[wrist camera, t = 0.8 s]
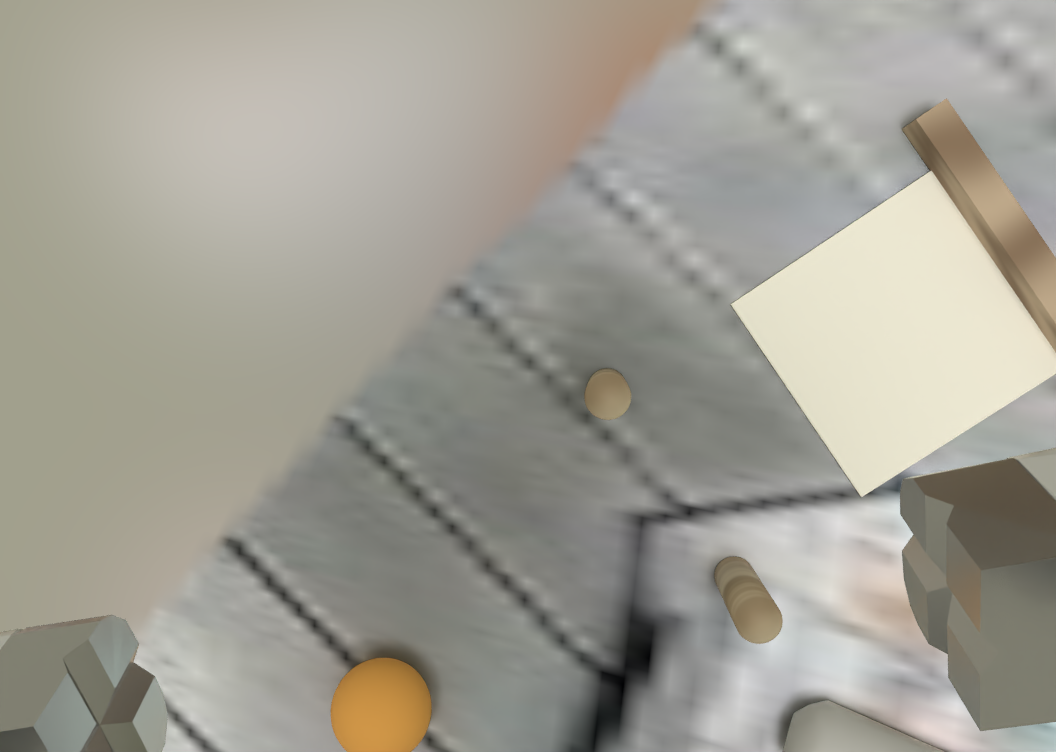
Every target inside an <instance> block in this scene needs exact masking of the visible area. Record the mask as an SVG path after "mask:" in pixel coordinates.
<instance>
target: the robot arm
mask: <svg viewBox="0 0 1056 752" xmlns="http://www.w3.org/2000/svg"><path fill="white" fill-rule="evenodd" d="M900 514H901V516H902V517H903V519H904V520H905V522H906V523H907V525H908V527H909V528H910V530H911V531H912V533H913V534H914V535H913V536H912V538H911V539H910V540H909V542H908V543H907V545H906V546H905V547H904V549H903V550H902V559H903V573H904V581H905V585H906V590H907V594H908V598H909V602H910V606H911V609H912V611H913V614H914V616H915V618H916V621H917V623H918V626H919V627H920V629H921V631H922V633H923V635H924V636H925V638H926V640H927V642H928V643H929V644H930V645H932V646H933V647H935V648H937V649H939V650H941V651H943V652H945V653H947V654H948V678H949V679H950V681H951V683H952V684H953V686H954V688H955V690H956V691H957V693H958V695H959V696H960V698H961V700H962V701H963V703H964V705H965V706H966V708H967V710H968V711H969V713H970V715H971V716H972V718H973V720H974V721H975V723H976V725H977V726H978V728H979V730H980V731H985V730H993V729H1001V728H1009V727H1017V726H1025V725H1034V724H1042V723H1050V722H1056V448H1053V449H1048V450H1043V451H1038V452H1034V453H1029V454H1024V455H1019V456H1014V457H1009V458H1007V459H1005V460H1000V461H994V462H989V463H984V464H978V465H973V466H968V467H963V468H957V469H952V470H947V471H941V472H936V473H931V474H925V475H920V476H915V477H909V478H904V479H903V481H902V485H901V490H900ZM138 646H139V643H138V641H137V640H136V638H135V636H134V634H133V632H132V630H131V629H130V627H129V625H128V623H127V621H126V620H124V619H121V618H119V617H116V616H114V615H107V616H101V617H94V618H88V619H81V620H74V621H68V622H61V623H55V624H48V625H41V626H34V627H28V628H25V629H15V630H9V631H4V632H0V752H162V750H163V748H164V745H165V740H166V729H167V718H168V714H167V710H166V705H165V700H164V695H163V692H162V690H161V688H160V686H159V684H158V682H157V680H156V678H155V676H154V675H152V674H151V673H149V672H148V671H146V670H144V669H143V668H141V667H140V666H138V665H137V664H135V663H133V661H134V658H135V655H136V652H137V649H138Z"/></svg>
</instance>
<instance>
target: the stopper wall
mask: <svg viewBox="0 0 1056 752" xmlns="http://www.w3.org/2000/svg"><path fill="white" fill-rule="evenodd" d="M902 130H903V132H904V133H905V135H906V136H907V138H908V139H909V141H910V142H911V144H912V145H913V146H914V148H915V149H916V151H917V152H918V154H919V155H920V157H921V158H922V160H923V161H924V163H925V164H926V165H927V167H928V168H929V170H930V171H931V170H932V172H933V173H934V175H935V176H936V178H937V179H938V181H939V182H940V184H941V185H942V187H943V188H944V189H945V191H946V192H947V194H948V195H949V197H950V198H951V200H952V201H953V203H954V204H955V206H956V207H957V208H958V210H959V211H960V213H961V214H962V216H963V217H964V219H965V220H966V222H967V223H968V225H969V226H970V228H971V229H972V230H973V232H974V233H975V235H976V236H977V238H978V239H979V241H980V242H981V244H982V245H983V247H984V248H985V249H986V251H987V252H988V254H989V255H990V257H991V258H992V260H993V261H994V263H995V264H996V266H997V267H998V269H999V270H1000V271H1001V273H1002V274H1003V276H1004V277H1005V279H1006V280H1007V282H1008V283H1009V285H1010V286H1011V288H1012V289H1013V291H1014V292H1015V293H1016V295H1017V296H1018V298H1019V299H1020V301H1021V302H1022V304H1023V305H1024V307H1025V308H1026V310H1027V311H1028V312H1029V314H1030V315H1031V317H1032V318H1033V320H1034V321H1035V323H1036V324H1037V326H1038V327H1039V329H1040V330H1041V332H1042V333H1043V334H1044V336H1045V337H1046V339H1047V340H1048V342H1049V343H1050V345H1051V346H1052V348H1053V349H1054V351H1055V352H1056V258H1055V256H1054V255H1053V253H1052V252H1051V250H1050V249H1049V247H1048V246H1047V244H1046V243H1045V241H1044V240H1043V239H1042V237H1041V236H1040V234H1039V233H1038V231H1037V230H1036V228H1035V227H1034V225H1033V224H1032V222H1031V221H1030V220H1029V218H1028V217H1027V215H1026V214H1025V212H1024V211H1023V209H1022V208H1021V206H1020V205H1019V203H1018V202H1017V201H1016V199H1015V198H1014V196H1013V195H1012V193H1011V192H1010V190H1009V189H1008V187H1007V186H1006V184H1005V183H1004V182H1003V180H1002V179H1001V177H1000V176H999V174H998V173H997V171H996V170H995V168H994V167H993V165H992V164H991V163H990V161H989V160H988V158H987V157H986V155H985V154H984V152H983V151H982V149H981V148H980V146H979V145H978V144H977V142H976V141H975V139H974V138H973V136H972V135H971V133H970V132H969V130H968V129H967V127H966V126H965V125H964V123H963V122H962V120H961V119H960V117H959V116H958V114H957V113H956V111H955V110H954V108H953V107H952V106H951V104H950V103H949V101H948V100H947V99H945V100H944V101H942V102H941V103H939V104H938V105H936V106H935V107H933V108H932V109H930V110H929V111H927V112H926V113H924V114H923V115H921V116H920V117H918V118H917V119H915V120H914V121H913V122H911V123H910V124H908V125H907V126H906V127H904V128H903V129H902Z"/></svg>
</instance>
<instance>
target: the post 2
mask: <svg viewBox="0 0 1056 752" xmlns="http://www.w3.org/2000/svg"><path fill="white" fill-rule="evenodd" d="M714 579H715V582H716V585H717V587H718V589H719V591H720V593H721V596H722V598H723V600H724V602H725V604H726V607H727V609H728V611H729V613H730V615H731V617H732V620H733V622H734V624H735V626H736V628H737V630H738V632H739V634H740V635H741V636H742V637H743V638H744V639H745V640H747V641H749V642H752V643H756V644H762V643H767V642H769V641H771V640H773V639H774V638H775V637H776V636H777V635H778V634H779V632H780V630H781V627H782V615H781V612H780V610H779V608H778V607H777V605H776V604H775V602H774V600H773V599H772V597H771V596H770V594H769V593H768V591H767V590H766V588H765V587H764V585H763V584H762V582H761V580H760V579H759V577H758V576H757V574H756V573H755V571H754V570H753V568H752V567H751V565H750V564H749V563H748V562H747V561H746V560H744V559H743V558H740V557H728V558H725V559H723V560H722V561H721V562H720V563H719V564H718V565H717V567H716V569H715V573H714Z"/></svg>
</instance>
